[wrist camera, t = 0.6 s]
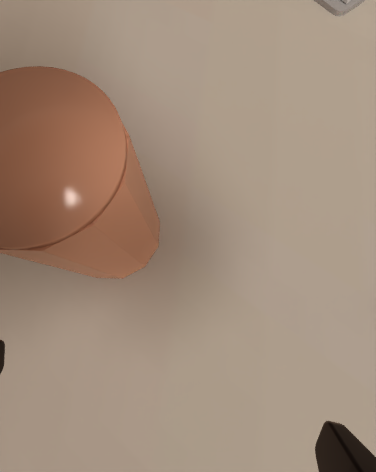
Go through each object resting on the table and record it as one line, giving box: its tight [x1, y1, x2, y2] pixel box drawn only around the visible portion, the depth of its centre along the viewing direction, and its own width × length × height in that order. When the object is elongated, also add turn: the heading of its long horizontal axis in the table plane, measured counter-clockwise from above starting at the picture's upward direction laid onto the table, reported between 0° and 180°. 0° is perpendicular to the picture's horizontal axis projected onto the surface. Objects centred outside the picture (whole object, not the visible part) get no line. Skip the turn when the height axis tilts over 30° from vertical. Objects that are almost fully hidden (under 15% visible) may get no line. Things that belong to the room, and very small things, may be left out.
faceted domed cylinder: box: [0, 66, 160, 279], centre depth 16 cm, size 7×7×12 cm
